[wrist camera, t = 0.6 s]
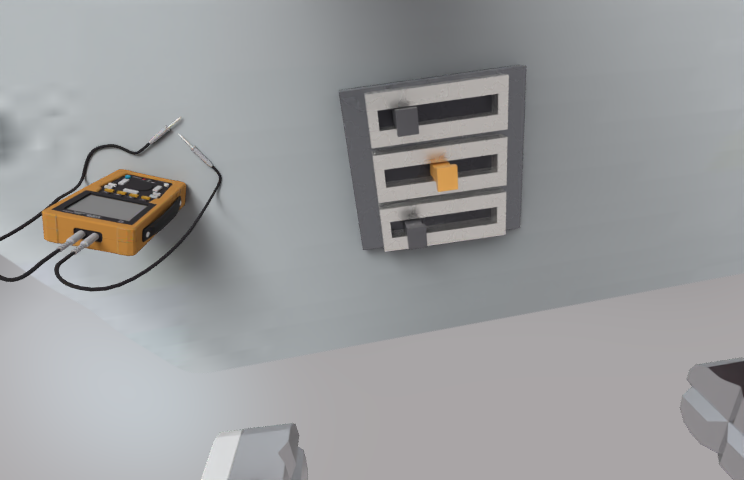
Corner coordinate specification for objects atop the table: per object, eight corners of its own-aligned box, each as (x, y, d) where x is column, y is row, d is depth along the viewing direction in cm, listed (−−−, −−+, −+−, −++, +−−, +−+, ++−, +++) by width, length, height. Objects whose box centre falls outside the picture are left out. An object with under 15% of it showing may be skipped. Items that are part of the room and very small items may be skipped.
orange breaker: (446, 154, 44) (457, 166, 39) (447, 175, 45) (458, 189, 41) (428, 157, 44) (437, 168, 39) (429, 178, 45) (438, 192, 41)
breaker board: (518, 64, 42) (534, 66, 39) (513, 221, 50) (526, 234, 47) (339, 90, 42) (338, 94, 39) (362, 242, 50) (363, 257, 47)
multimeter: (228, 126, 43) (145, 183, 25) (219, 211, 47) (142, 312, 29) (79, 90, 41) (-129, 126, 23) (83, 183, 45) (-91, 275, 27)
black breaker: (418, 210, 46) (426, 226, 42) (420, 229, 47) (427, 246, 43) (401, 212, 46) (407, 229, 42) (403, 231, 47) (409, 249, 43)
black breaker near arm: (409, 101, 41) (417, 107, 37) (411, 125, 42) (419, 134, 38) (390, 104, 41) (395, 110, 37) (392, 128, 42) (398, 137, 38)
